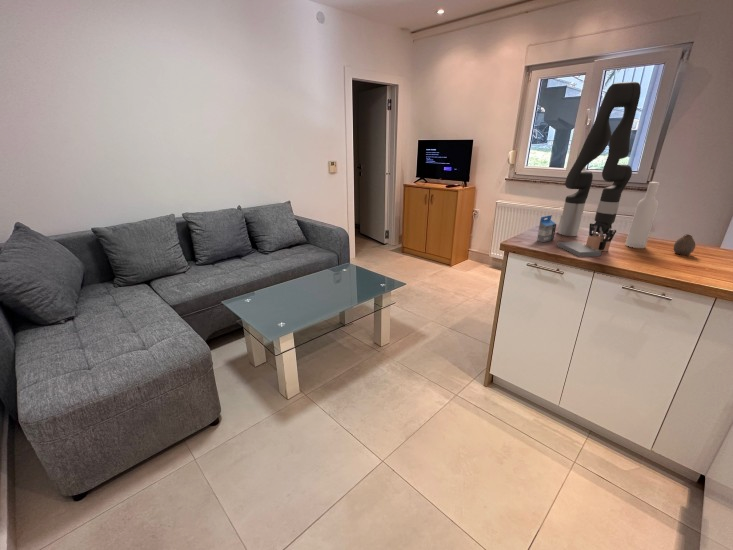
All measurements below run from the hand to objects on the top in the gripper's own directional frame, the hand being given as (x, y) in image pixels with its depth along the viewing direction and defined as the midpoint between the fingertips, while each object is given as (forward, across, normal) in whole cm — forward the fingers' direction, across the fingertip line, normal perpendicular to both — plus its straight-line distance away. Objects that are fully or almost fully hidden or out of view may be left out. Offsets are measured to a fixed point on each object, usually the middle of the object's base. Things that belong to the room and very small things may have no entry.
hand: (597, 247), depth 155 cm
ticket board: (+1, 0, -9) cm, 9 cm away
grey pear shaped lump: (+1, +9, +34) cm, 35 cm away
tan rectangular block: (+1, 0, 0) cm, 1 cm away
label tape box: (+1, -18, -14) cm, 23 cm away
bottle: (+1, -4, +23) cm, 23 cm away
